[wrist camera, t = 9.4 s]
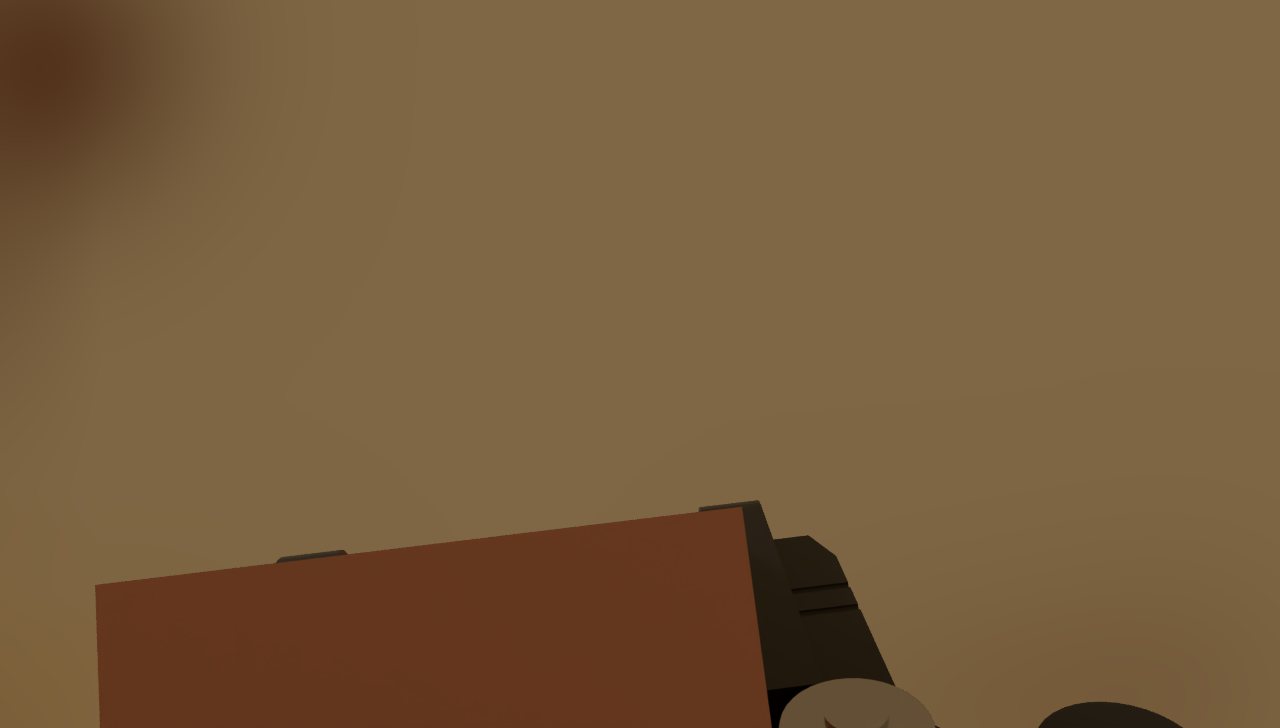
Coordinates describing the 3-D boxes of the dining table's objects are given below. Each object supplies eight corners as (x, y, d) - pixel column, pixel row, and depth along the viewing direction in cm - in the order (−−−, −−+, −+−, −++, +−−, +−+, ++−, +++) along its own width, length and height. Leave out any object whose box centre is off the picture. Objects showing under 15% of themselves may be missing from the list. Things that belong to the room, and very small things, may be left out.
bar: (838, 1225, 6) (742, 507, 7) (121, 1320, 6) (94, 584, 6) (675, 670, 32) (659, 535, 32) (541, 687, 31) (528, 551, 32)
